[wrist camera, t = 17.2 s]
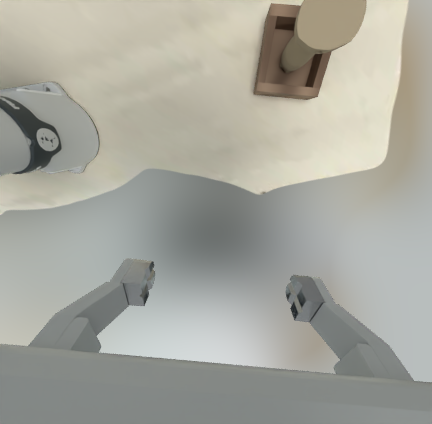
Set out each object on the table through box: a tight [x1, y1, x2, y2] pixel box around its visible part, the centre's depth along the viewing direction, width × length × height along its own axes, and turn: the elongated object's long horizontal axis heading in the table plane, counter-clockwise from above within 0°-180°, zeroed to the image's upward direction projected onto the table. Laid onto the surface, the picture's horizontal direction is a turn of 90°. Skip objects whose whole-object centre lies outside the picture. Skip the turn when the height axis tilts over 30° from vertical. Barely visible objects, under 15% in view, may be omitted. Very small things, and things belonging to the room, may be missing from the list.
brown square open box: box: [254, 3, 331, 100], centre depth 29 cm, size 10×10×4 cm
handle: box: [280, 0, 366, 73], centre depth 24 cm, size 5×6×15 cm
